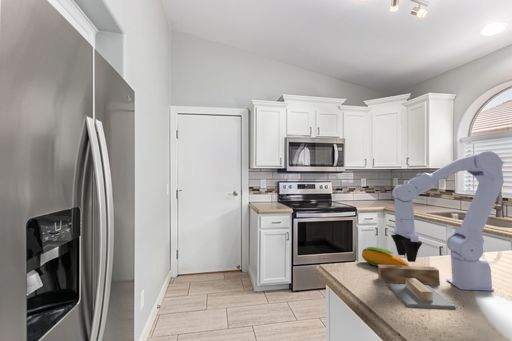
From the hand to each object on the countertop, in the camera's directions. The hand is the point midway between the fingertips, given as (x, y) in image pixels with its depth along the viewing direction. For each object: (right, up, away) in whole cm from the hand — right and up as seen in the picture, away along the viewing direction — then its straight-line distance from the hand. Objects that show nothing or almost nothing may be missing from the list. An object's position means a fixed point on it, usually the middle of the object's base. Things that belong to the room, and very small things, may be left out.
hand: (406, 258), depth 87 cm
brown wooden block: (0, -8, 0) cm, 8 cm away
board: (-4, -7, -12) cm, 14 cm away
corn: (0, -9, +14) cm, 17 cm away
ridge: (-4, -7, -12) cm, 14 cm away
